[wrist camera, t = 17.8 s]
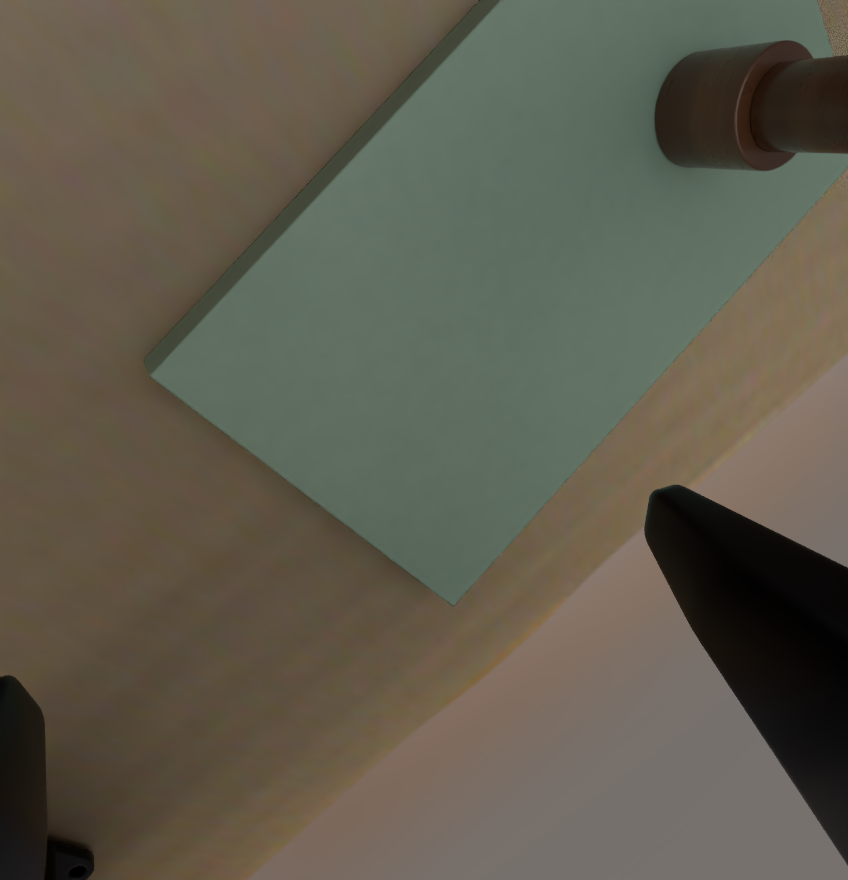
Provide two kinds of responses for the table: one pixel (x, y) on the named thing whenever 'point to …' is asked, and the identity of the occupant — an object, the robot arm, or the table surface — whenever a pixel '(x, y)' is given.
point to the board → (489, 275)
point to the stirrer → (753, 107)
